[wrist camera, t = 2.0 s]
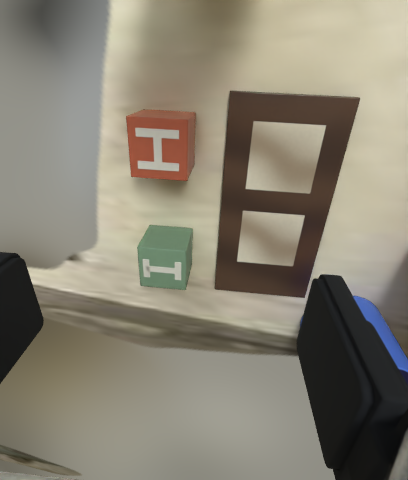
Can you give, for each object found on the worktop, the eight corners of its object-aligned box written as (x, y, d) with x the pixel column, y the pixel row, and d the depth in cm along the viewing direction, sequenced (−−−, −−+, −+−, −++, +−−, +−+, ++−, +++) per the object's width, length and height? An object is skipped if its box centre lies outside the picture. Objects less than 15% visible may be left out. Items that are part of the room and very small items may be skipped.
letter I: (149, 224, 30) (136, 247, 26) (192, 228, 30) (186, 251, 26) (151, 260, 33) (140, 286, 29) (191, 264, 32) (185, 291, 28)
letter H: (143, 109, 25) (125, 116, 21) (195, 112, 25) (187, 119, 21) (146, 162, 27) (130, 177, 23) (194, 165, 27) (187, 181, 23)
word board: (230, 90, 24) (230, 91, 23) (357, 97, 23) (361, 97, 22) (215, 286, 34) (214, 290, 33) (303, 294, 33) (304, 298, 32)
